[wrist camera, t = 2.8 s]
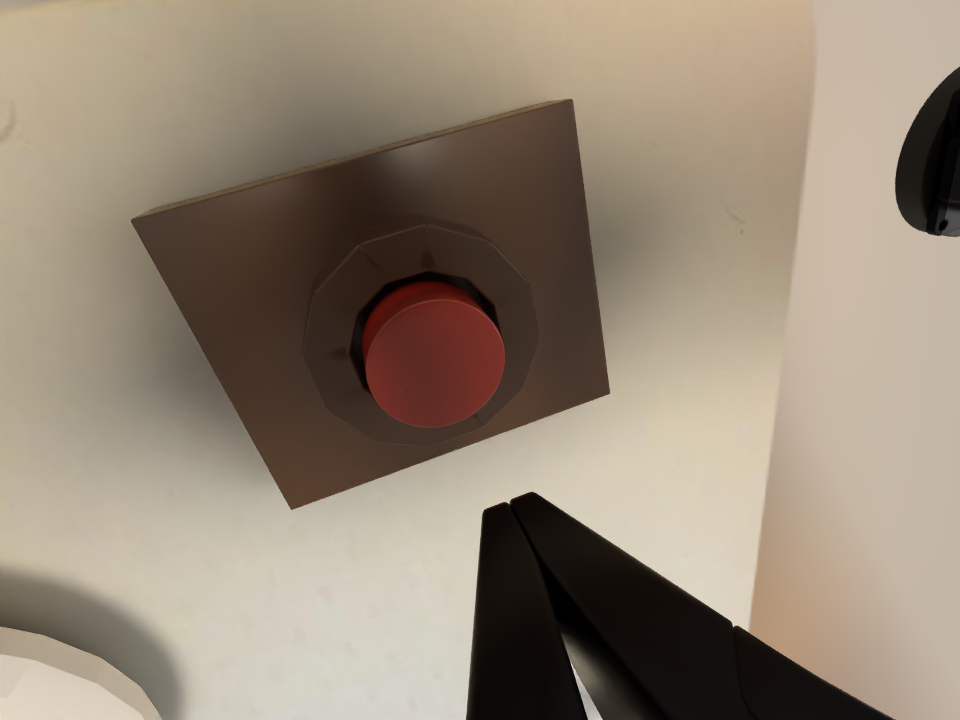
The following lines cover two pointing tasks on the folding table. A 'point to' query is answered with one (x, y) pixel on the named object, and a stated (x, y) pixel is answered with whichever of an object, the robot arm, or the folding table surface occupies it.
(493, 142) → the box
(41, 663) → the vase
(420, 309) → the power button
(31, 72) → the folding table surface
